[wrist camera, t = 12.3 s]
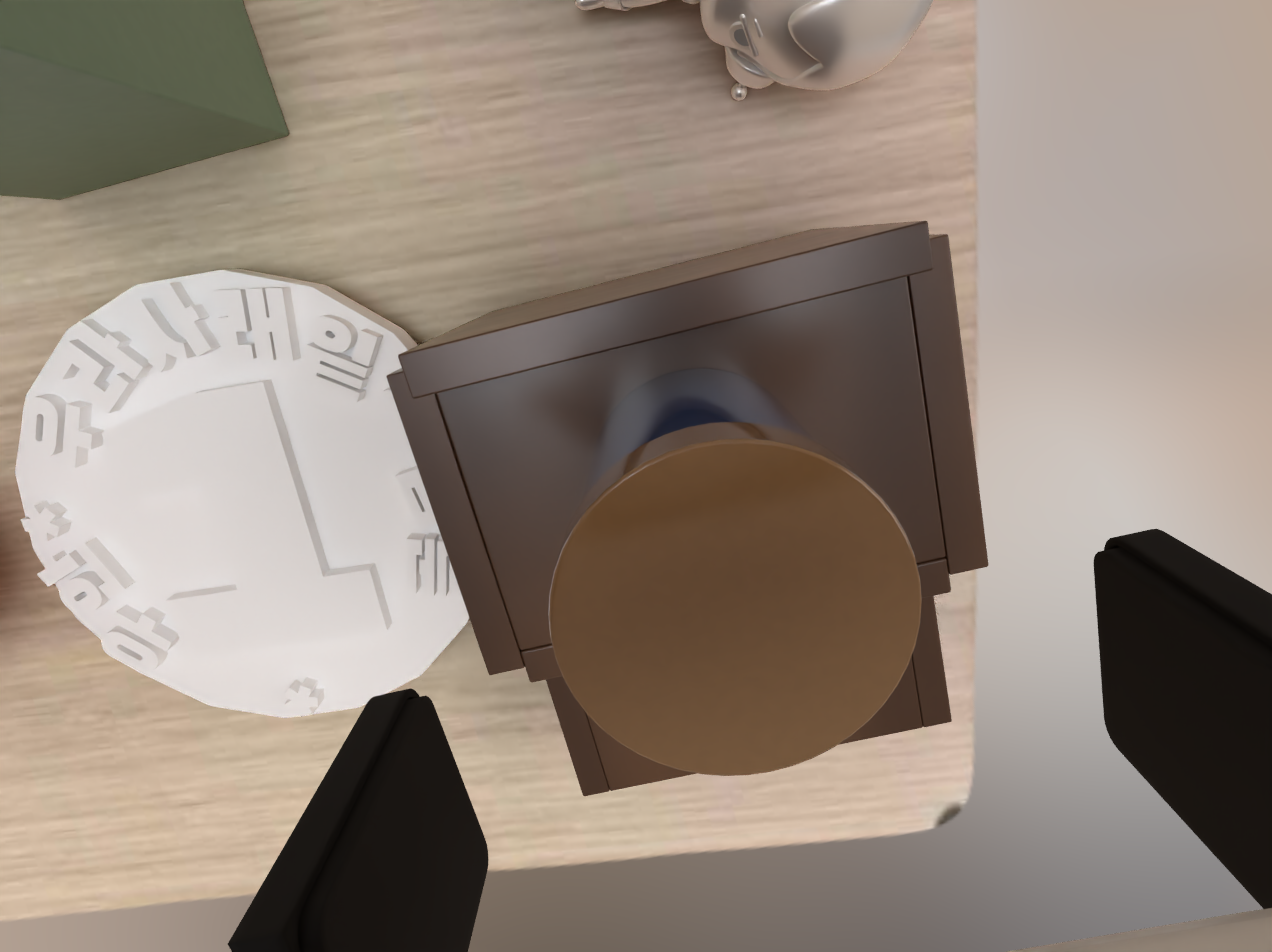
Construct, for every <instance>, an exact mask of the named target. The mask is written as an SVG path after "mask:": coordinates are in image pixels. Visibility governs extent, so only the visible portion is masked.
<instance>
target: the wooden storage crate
mask: <svg viewBox="0 0 1272 952" xmlns="http://www.w3.org/2000/svg"><path fill="white" fill-rule="evenodd" d="M398 358H399V361H400V364H401V367H402V368H400V369H398V370H396V371H394V372H392V373H390V374H388V375H387V376H386V377H387V380H388V383H389V386H390V389H391V392H392V395H393V398H394V401H395V404H396V406H397V409H398V412H399V415H400V418H401V421H402V424H403V427H404V430H405V432H406V435H407V438H408V441H409V444H410V447H411V450H412V453H413V456H414V459H415V461H416V464H417V467H418V470H419V473H420V476H421V479H422V482H423V485H424V487H425V490H426V493H427V496H428V499H429V502H430V505H431V508H432V511H433V514H434V516H435V519H436V522H437V525H438V528H439V531H440V534H441V537H442V540H443V542H444V545H445V548H446V551H447V554H448V557H449V560H450V563H451V566H452V569H453V571H454V574H455V577H456V580H457V583H458V586H459V589H460V592H461V595H462V597H463V600H464V603H465V606H466V609H467V612H468V615H469V618H470V621H471V624H472V626H473V629H474V632H475V635H476V638H477V641H478V644H479V647H480V650H481V652H482V655H483V658H484V661H485V664H486V667H487V670H488V673H489V675H493V674H497V673H502V672H506V671H511V670H516V669H520V668H524V667H526V671H527V674H528V677H529V680H530V681H531V682H536V681H541V680H546V681H547V684H548V688H549V691H550V694H551V697H552V700H553V703H554V706H555V709H556V712H557V716H558V719H559V722H560V725H561V728H562V731H563V734H564V737H565V740H566V744H567V747H568V750H569V753H570V756H571V759H572V762H573V765H574V768H575V772H576V775H577V778H578V781H579V784H580V787H581V790H582V793H583V796H588V795H593V794H598V793H603V792H608V791H609V790H611V791H613V790H617V789H622V788H627V787H632V786H637V785H642V784H647V783H652V782H657V781H662V780H667V779H672V778H676V777H681V776H686V775H691V774H696V773H694V772H688V771H683V770H679V769H675V768H672V767H669V766H666V765H663V764H659V763H657V762H655V761H652V760H650V759H648V758H646V757H643V756H641V755H639V754H637V753H636V752H634V751H632V750H630V749H629V748H627V747H625V746H624V745H622V744H620V743H619V742H618V741H616V740H615V739H614V738H613V737H611V736H610V735H609V734H607V733H606V732H605V731H604V730H602V729H601V728H600V727H599V726H598V725H597V724H596V723H595V722H594V721H593V720H592V719H591V718H590V717H589V716H588V715H587V713H586V712H585V711H584V709H583V708H582V707H581V705H580V704H579V703H578V701H577V700H576V699H575V697H574V696H573V694H572V692H571V691H570V689H569V687H568V685H567V683H566V682H565V680H564V678H563V676H562V673H561V671H560V668H559V666H558V663H557V661H556V658H555V654H554V650H553V646H552V641H551V637H550V626H549V597H550V589H551V584H552V579H553V575H554V570H555V566H556V562H557V559H558V555H559V551H560V547H561V544H562V541H563V538H564V535H565V532H566V530H567V527H568V524H569V522H570V520H571V518H572V517H573V515H574V513H575V511H576V509H577V507H578V505H579V504H580V502H581V501H582V497H583V493H584V488H585V484H586V480H587V475H588V471H589V466H590V462H591V458H592V453H593V449H594V445H595V443H596V440H597V437H598V434H599V432H600V430H601V428H602V426H603V424H604V423H605V421H606V419H607V418H608V417H609V415H610V414H611V412H612V411H613V409H614V408H615V407H616V406H617V405H618V404H619V403H620V402H621V401H622V400H623V399H624V398H625V397H626V396H627V395H629V394H630V393H631V392H632V391H633V390H635V389H636V388H638V387H639V386H641V385H643V384H644V383H646V382H648V381H650V380H652V379H654V378H656V377H658V376H661V375H664V374H667V373H670V372H673V371H679V370H684V369H693V368H709V369H719V370H724V371H729V372H733V373H736V374H738V375H741V376H744V377H747V378H749V379H750V380H752V381H754V382H756V383H758V384H760V385H761V386H763V387H764V388H765V389H767V390H768V391H770V392H771V393H772V394H773V395H774V396H775V397H776V398H777V399H778V400H779V401H781V402H782V404H783V405H784V406H785V407H786V408H787V409H788V410H789V411H790V413H791V414H792V415H793V416H794V417H795V418H796V419H797V421H798V422H799V423H800V424H801V425H802V426H803V427H804V428H805V430H806V431H807V432H808V433H809V434H810V435H811V436H812V437H813V439H814V440H815V441H816V442H817V443H819V444H821V445H823V446H825V447H826V448H828V449H829V450H831V451H832V452H833V453H835V454H836V455H838V456H839V457H840V458H842V459H843V460H845V461H846V462H847V463H848V464H849V465H850V466H851V467H852V468H853V469H854V470H855V471H856V472H857V473H858V474H859V475H860V476H861V477H862V478H863V479H864V480H865V481H866V482H867V483H868V484H869V485H870V486H871V487H872V488H873V489H874V490H875V491H876V492H877V493H878V495H879V496H880V497H881V498H882V499H883V500H884V502H885V503H886V504H887V505H888V507H889V508H890V509H891V511H892V512H893V513H894V514H895V516H896V517H897V519H898V521H899V523H900V524H901V526H902V528H903V530H904V531H905V533H906V535H907V537H908V540H909V542H910V545H911V547H912V550H913V552H914V555H915V558H916V563H917V567H918V572H919V576H920V585H921V598H922V603H921V617H920V626H919V631H918V635H917V640H916V644H915V647H914V650H913V653H912V656H911V658H910V661H909V664H908V666H907V668H906V670H905V672H904V674H903V676H902V678H901V680H900V682H899V683H898V685H897V687H896V688H895V690H894V691H893V692H892V694H891V695H890V697H889V698H888V699H887V701H886V702H885V704H884V705H883V706H882V707H881V708H880V709H879V710H878V711H877V712H876V714H875V715H874V716H873V717H872V718H871V719H870V720H869V721H868V722H867V723H866V724H864V725H863V726H862V727H861V728H860V729H859V730H857V731H856V732H855V733H854V734H853V735H851V736H850V737H848V738H847V739H845V740H844V741H842V742H841V743H839V744H844V743H848V742H853V741H858V740H863V739H868V738H873V737H878V736H883V735H888V734H893V733H898V732H903V731H907V730H912V729H917V728H922V727H928V726H933V725H938V724H942V723H947V722H951V713H950V706H949V699H948V693H947V686H946V679H945V672H944V665H943V659H942V652H941V645H940V638H939V631H938V624H937V618H936V611H935V604H934V597H933V596H934V595H939V594H943V593H948V592H950V591H951V587H950V579H949V574H956V573H960V572H965V571H969V570H974V569H978V568H983V567H987V566H988V559H987V550H986V542H985V534H984V526H983V518H982V509H981V501H980V493H979V484H978V476H977V468H976V460H975V452H974V443H973V435H972V427H971V419H970V411H969V402H968V394H967V386H966V378H965V370H964V361H963V353H962V345H961V337H960V329H959V320H958V312H957V304H956V296H955V288H954V279H953V271H952V263H951V255H950V246H949V238H948V235H947V234H940V235H929V230H928V223H927V221H916V222H903V223H890V224H877V225H864V226H851V227H838V228H826V229H813V230H808V231H804V232H800V233H796V234H792V235H788V236H784V237H780V238H776V239H772V240H769V241H765V242H761V243H757V244H753V245H749V246H745V247H741V248H737V249H733V250H729V251H726V252H722V253H718V254H714V255H710V256H706V257H702V258H698V259H694V260H690V261H686V262H683V263H679V264H675V265H671V266H667V267H663V268H659V269H655V270H651V271H647V272H643V273H640V274H636V275H632V276H628V277H624V278H620V279H616V280H612V281H608V282H604V283H600V284H597V285H593V286H589V287H585V288H581V289H577V290H573V291H569V292H565V293H561V294H557V295H554V296H550V297H546V298H542V299H538V300H534V301H530V302H526V303H522V304H518V305H514V306H511V307H507V308H503V309H499V310H495V311H492V312H490V313H487V314H485V315H483V316H481V317H479V318H477V319H475V320H472V321H470V322H468V323H466V324H464V325H462V326H459V327H457V328H455V329H453V330H451V331H449V332H446V333H444V334H442V335H440V336H438V337H436V338H433V339H431V340H429V341H427V342H425V343H423V344H420V345H418V346H416V347H414V348H412V349H410V350H407V351H405V352H403V353H401V354H399V355H398ZM839 744H838V745H839Z"/></svg>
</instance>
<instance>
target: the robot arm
mask: <svg viewBox="0 0 1272 952" xmlns="http://www.w3.org/2000/svg"><path fill="white" fill-rule="evenodd" d="M1094 575H1095V588H1096V604H1097V618H1098V634H1099V649H1100V662H1101V677H1102V693H1103V707H1104V720H1105V725H1106V728H1107V731H1108V733H1109V736H1110V738H1111V739H1112V741H1113V743H1114V744H1115V745H1116V747H1117V748H1118V750H1119V751H1120V752H1121V753H1122V754H1123V755H1124V756H1125V757H1126V758H1127V760H1128V761H1129V762H1130V763H1131V764H1132V765H1133V766H1134V767H1135V768H1136V769H1137V771H1139V773H1140V774H1141V775H1142V776H1143V777H1144V778H1145V779H1146V780H1147V781H1148V782H1149V784H1150V785H1151V786H1152V787H1153V788H1154V789H1155V790H1156V791H1157V792H1158V793H1159V795H1160V796H1161V797H1162V798H1163V799H1164V800H1165V801H1166V802H1167V803H1168V804H1169V806H1171V808H1172V809H1173V810H1174V811H1175V812H1176V813H1177V814H1178V815H1179V817H1181V819H1182V820H1183V821H1184V822H1185V823H1186V824H1187V825H1188V826H1189V827H1190V828H1191V830H1192V831H1193V832H1194V833H1195V834H1196V835H1197V836H1198V837H1199V838H1200V839H1201V841H1202V842H1203V843H1204V844H1205V845H1206V846H1207V847H1208V848H1209V849H1210V851H1211V852H1212V853H1213V854H1214V855H1215V856H1216V857H1217V858H1218V859H1219V860H1220V861H1221V863H1222V864H1223V865H1224V866H1225V867H1226V868H1227V869H1228V870H1229V871H1230V872H1231V873H1232V875H1234V877H1235V878H1236V879H1237V880H1238V881H1239V882H1240V883H1241V884H1242V885H1243V887H1245V889H1246V890H1247V891H1248V892H1249V893H1250V894H1251V895H1252V896H1253V898H1254V899H1255V900H1256V901H1257V902H1258V903H1259V904H1260V905H1261V906H1262V907H1263V909H1262V910H1255V911H1249V912H1242V913H1236V914H1230V915H1224V916H1218V917H1213V918H1206V919H1200V920H1194V921H1188V922H1183V923H1176V924H1170V925H1165V926H1158V927H1152V928H1146V929H1140V930H1134V931H1128V932H1122V933H1117V934H1110V935H1104V936H1098V937H1092V938H1086V939H1080V940H1074V941H1068V942H1062V943H1056V944H1050V945H1044V946H1038V947H1033V948H1026V949H1020V950H1014V951H1008V952H1272V594H1270V593H1268V592H1267V591H1265V590H1263V589H1261V588H1260V587H1258V586H1256V585H1255V584H1253V583H1251V582H1249V581H1248V580H1246V579H1244V578H1243V577H1241V576H1239V575H1237V574H1236V573H1234V572H1232V571H1231V570H1229V569H1227V568H1225V567H1224V566H1222V565H1220V564H1219V563H1217V562H1215V561H1213V560H1211V559H1210V558H1208V557H1206V556H1205V555H1203V554H1201V553H1200V552H1198V551H1196V550H1195V549H1193V548H1191V547H1189V546H1188V545H1186V544H1184V543H1182V542H1181V541H1179V540H1177V539H1175V538H1174V537H1172V536H1170V535H1169V534H1167V533H1165V532H1164V531H1161V530H1158V529H1151V530H1147V531H1142V532H1138V533H1133V534H1128V535H1124V536H1119V537H1114V538H1110V539H1109V540H1108V541H1107V542H1106V545H1105V548H1104V551H1101V552H1098V553H1097V554H1096V555H1095V558H1094ZM487 869H488V849H487V844H486V841H485V838H484V835H483V832H482V830H481V827H480V825H479V822H478V819H477V817H476V814H475V812H474V809H473V806H472V804H471V801H470V799H469V796H468V793H467V791H466V788H465V786H464V783H463V780H462V778H461V775H460V773H459V770H458V767H457V765H456V762H455V760H454V757H453V754H452V752H451V749H450V746H449V744H448V741H447V739H446V736H445V733H444V731H443V728H442V726H441V723H440V720H439V718H438V715H437V713H436V710H435V707H434V705H433V703H432V701H431V699H430V698H429V697H427V696H422V697H419V695H418V694H417V692H416V691H415V690H413V689H407V690H402V691H397V692H393V693H388V694H383V695H379V696H375V697H372V698H371V699H370V700H369V701H368V703H367V704H366V706H365V708H364V710H363V711H362V713H361V715H360V717H359V718H358V720H357V722H356V723H355V725H354V727H353V729H352V730H351V732H350V734H349V736H348V737H347V739H346V741H345V742H344V744H343V746H342V748H341V749H340V751H339V753H338V755H337V756H336V758H335V760H334V761H333V763H332V765H331V767H330V768H329V770H328V772H327V774H326V775H325V777H324V779H323V780H322V782H321V784H320V786H319V787H318V789H317V791H316V793H315V794H314V796H313V798H312V799H311V801H310V803H309V805H308V806H307V808H306V810H305V812H304V813H303V815H302V817H301V818H300V820H299V822H298V824H297V825H296V827H295V829H294V831H293V832H292V834H291V836H290V837H289V839H288V841H287V843H286V844H285V846H284V848H283V850H282V851H281V853H280V855H279V856H278V858H277V860H276V862H275V863H274V865H273V867H272V869H271V870H270V872H269V874H268V875H267V877H266V879H265V881H264V882H263V884H262V886H261V888H260V889H259V891H258V893H257V894H256V896H255V898H254V900H253V901H252V903H251V905H250V907H249V908H248V910H247V912H246V913H245V915H244V917H243V919H242V920H241V922H240V924H239V926H238V927H237V929H236V931H235V933H234V934H233V936H232V938H231V939H230V941H229V943H228V945H229V947H230V949H231V950H232V952H468V948H469V944H470V940H471V936H472V931H473V927H474V923H475V919H476V915H477V911H478V906H479V903H480V898H481V894H482V890H483V886H484V881H485V878H486V874H487Z"/></svg>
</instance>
